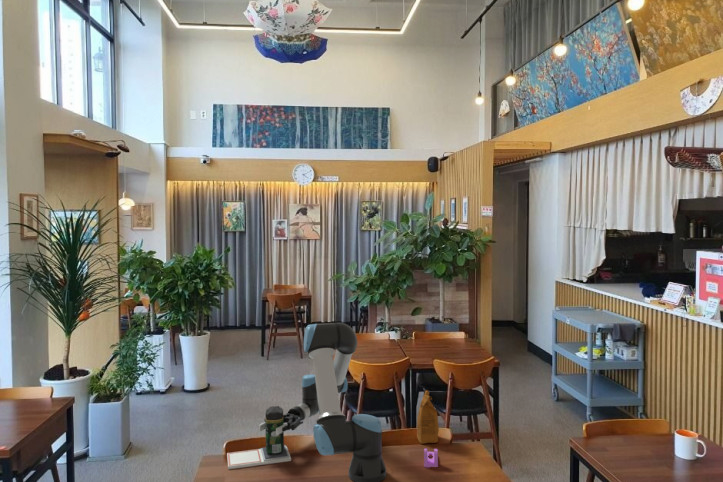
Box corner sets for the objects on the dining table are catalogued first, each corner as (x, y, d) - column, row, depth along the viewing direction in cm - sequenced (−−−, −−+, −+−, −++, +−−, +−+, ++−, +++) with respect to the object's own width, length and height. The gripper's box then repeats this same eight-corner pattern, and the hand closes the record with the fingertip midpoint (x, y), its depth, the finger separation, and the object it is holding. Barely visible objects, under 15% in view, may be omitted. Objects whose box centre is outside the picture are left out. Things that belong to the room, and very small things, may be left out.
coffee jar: (265, 446, 225) (265, 405, 225) (283, 445, 226) (283, 404, 226) (265, 455, 215) (264, 412, 215) (284, 454, 216) (283, 411, 216)
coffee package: (437, 434, 243) (436, 389, 243) (439, 445, 231) (438, 397, 231) (416, 434, 244) (416, 389, 244) (417, 444, 231) (417, 396, 231)
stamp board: (291, 460, 215) (291, 457, 215) (228, 469, 208) (228, 466, 208) (286, 448, 229) (286, 445, 229) (227, 455, 221) (227, 452, 221)
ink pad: (289, 457, 216) (289, 455, 216) (263, 461, 212) (263, 458, 212) (285, 446, 228) (285, 444, 228) (260, 449, 225) (260, 447, 225)
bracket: (437, 468, 207) (437, 451, 207) (424, 467, 208) (424, 450, 208) (436, 455, 220) (436, 439, 220) (424, 454, 221) (423, 438, 221)
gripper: (317, 425, 231) (288, 443, 211) (280, 418, 241) (248, 434, 221) (317, 409, 231) (288, 425, 211) (280, 402, 241) (248, 417, 221)
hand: (267, 430), depth 216 cm, fingers closed on coffee jar, 9 cm apart
